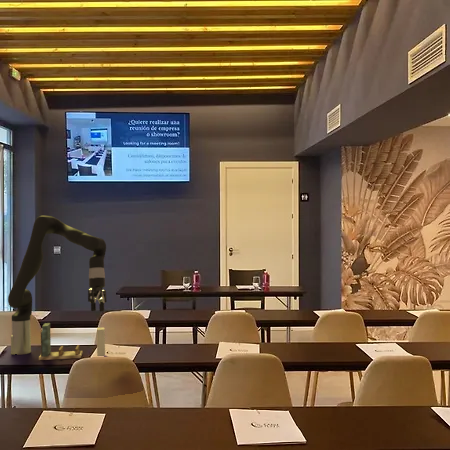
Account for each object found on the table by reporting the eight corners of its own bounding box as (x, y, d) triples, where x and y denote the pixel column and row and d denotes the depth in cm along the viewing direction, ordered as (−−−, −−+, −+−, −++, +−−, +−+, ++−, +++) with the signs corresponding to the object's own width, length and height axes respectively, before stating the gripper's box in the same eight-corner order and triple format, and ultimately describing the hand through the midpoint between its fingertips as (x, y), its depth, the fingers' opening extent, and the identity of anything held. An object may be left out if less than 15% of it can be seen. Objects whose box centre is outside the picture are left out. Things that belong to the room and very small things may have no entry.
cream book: (97, 358, 277) (96, 329, 277) (98, 355, 283) (97, 327, 283) (104, 357, 278) (104, 329, 278) (105, 355, 284) (104, 327, 284)
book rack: (38, 360, 275) (38, 326, 275) (42, 355, 285) (41, 323, 285) (80, 357, 278) (80, 324, 278) (82, 353, 288) (81, 321, 288)
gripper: (96, 279, 280) (97, 312, 277) (82, 277, 267) (83, 311, 263) (110, 278, 278) (111, 311, 275) (97, 275, 265) (97, 310, 262)
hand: (97, 311), depth 269 cm, fingers open, 8 cm apart
